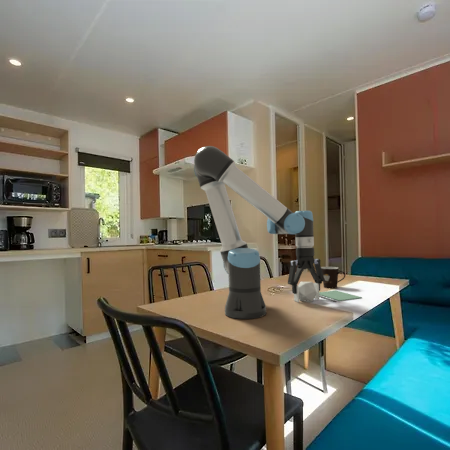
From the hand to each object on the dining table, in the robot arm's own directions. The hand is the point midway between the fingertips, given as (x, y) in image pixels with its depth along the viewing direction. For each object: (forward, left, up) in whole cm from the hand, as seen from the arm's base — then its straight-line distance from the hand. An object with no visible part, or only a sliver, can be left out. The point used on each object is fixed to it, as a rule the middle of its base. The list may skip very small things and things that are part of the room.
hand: (306, 299), depth 120 cm
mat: (+17, +1, 0) cm, 17 cm away
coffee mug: (+27, +16, 0) cm, 31 cm away
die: (0, 0, 0) cm, 0 cm away
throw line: (+9, +1, 0) cm, 9 cm away
